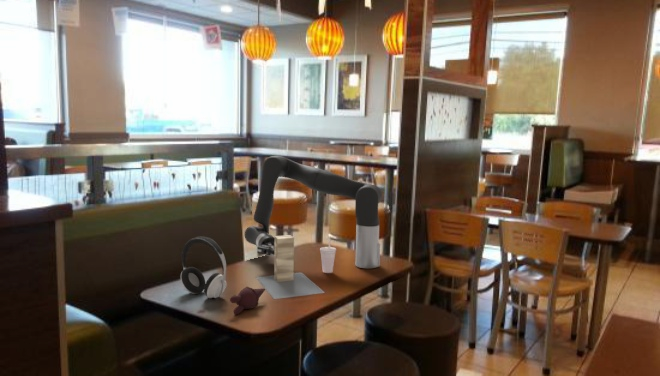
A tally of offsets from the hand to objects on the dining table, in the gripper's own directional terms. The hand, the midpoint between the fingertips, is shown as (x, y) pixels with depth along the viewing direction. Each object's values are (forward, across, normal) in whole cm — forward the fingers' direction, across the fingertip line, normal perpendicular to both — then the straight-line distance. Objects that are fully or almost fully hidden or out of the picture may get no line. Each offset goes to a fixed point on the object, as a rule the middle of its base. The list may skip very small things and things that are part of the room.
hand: (279, 254), depth 184 cm
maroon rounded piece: (+27, -18, +9) cm, 33 cm away
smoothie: (+2, +19, +9) cm, 21 cm away
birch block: (+6, 0, +8) cm, 10 cm away
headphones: (+11, -30, +9) cm, 33 cm away
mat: (+12, 0, +9) cm, 14 cm away
